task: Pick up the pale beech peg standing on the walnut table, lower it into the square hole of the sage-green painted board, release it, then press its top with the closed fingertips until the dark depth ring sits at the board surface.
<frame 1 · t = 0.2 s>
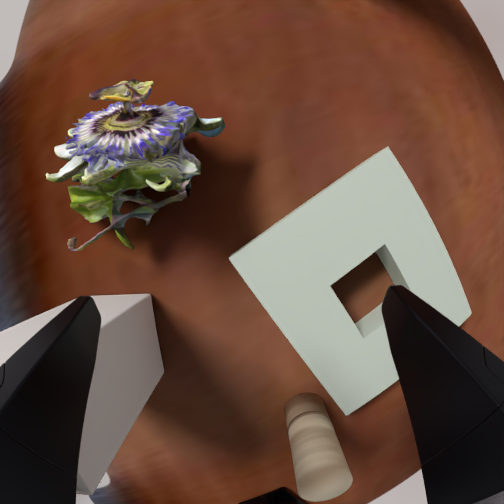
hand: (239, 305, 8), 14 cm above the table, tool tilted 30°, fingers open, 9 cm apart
peg: (304, 408, 24), on the table
board: (361, 284, 23), on the table
milk carton: (122, 333, 23), on the table
passion flower: (148, 177, 22), on the table
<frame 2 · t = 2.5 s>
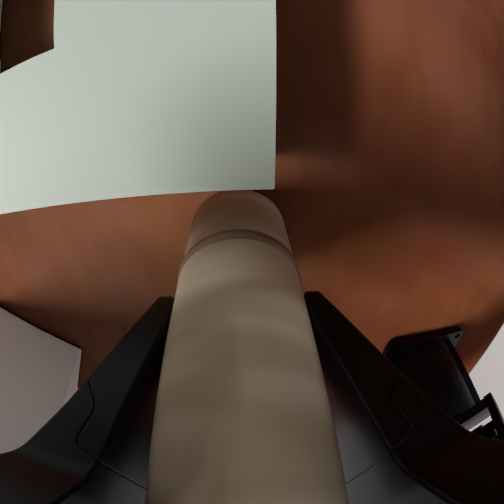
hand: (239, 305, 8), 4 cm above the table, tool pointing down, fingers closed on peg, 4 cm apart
peg: (238, 231, 12), on the table, touching gripper
board: (43, 12, 6), on the table
milk carton: (38, 348, 16), on the table
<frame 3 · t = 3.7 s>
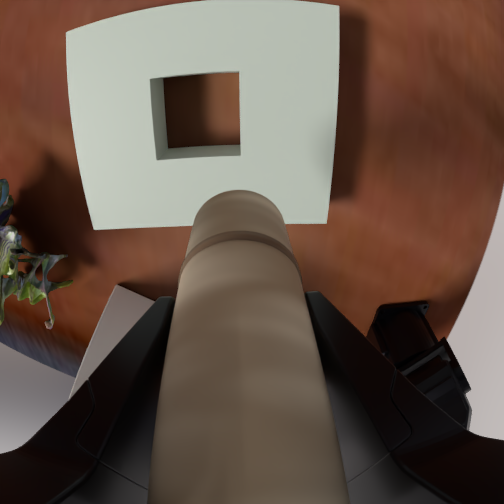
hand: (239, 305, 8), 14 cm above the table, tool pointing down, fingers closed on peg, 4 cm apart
peg: (238, 232, 12), point 10 cm above the table, touching gripper
board: (202, 110, 18), on the table
milk carton: (141, 318, 28), on the table
passion flower: (37, 235, 22), on the table
when the fingers open (5 cm above the table, at t = 5.4 s): peg drops 1 cm, resting in board.
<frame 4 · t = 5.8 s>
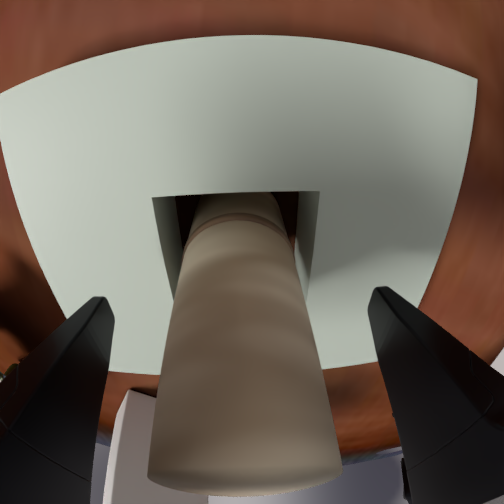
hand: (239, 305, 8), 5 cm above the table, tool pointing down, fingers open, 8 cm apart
peg: (237, 219, 12), resting in board
board: (237, 219, 12), on the table
milk carton: (159, 411, 23), on the table
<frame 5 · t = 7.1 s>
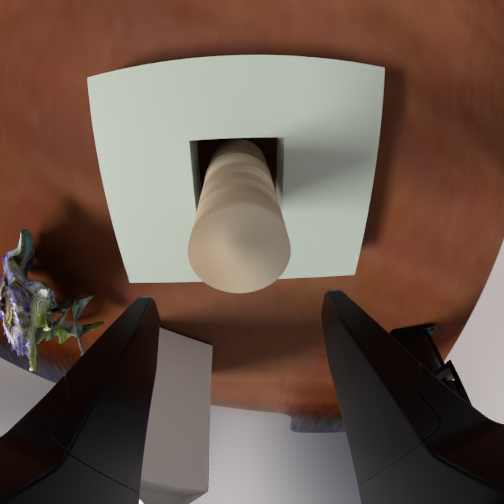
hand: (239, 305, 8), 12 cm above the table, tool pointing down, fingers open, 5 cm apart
peg: (238, 165, 19), resting in board
board: (237, 165, 19), on the table
milk carton: (169, 349, 29), on the table
passion flower: (61, 276, 23), on the table
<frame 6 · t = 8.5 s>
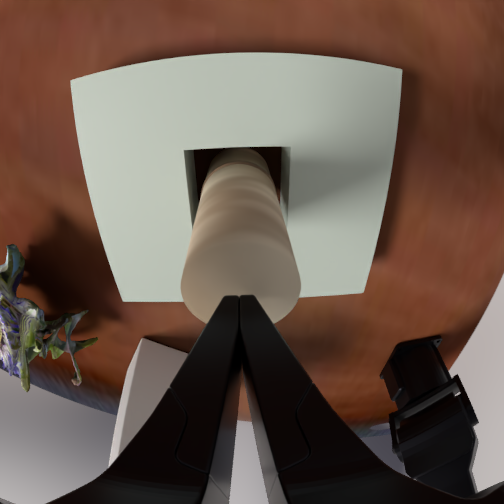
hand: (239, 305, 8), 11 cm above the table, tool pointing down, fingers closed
peg: (238, 175, 17), resting in board
board: (238, 175, 17), on the table
milk carton: (167, 364, 28), on the table
passion flower: (53, 290, 22), on the table
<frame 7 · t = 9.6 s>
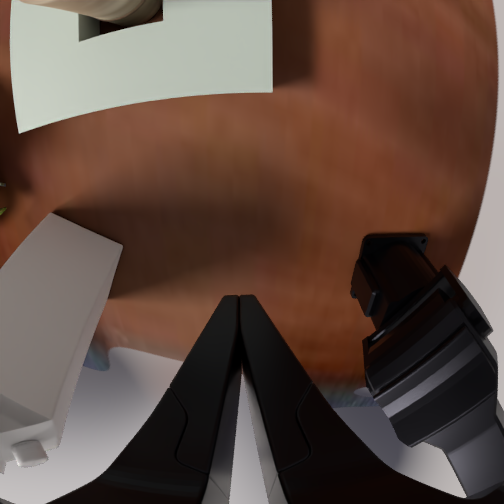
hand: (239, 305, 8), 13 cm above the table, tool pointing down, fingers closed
peg: (135, 2, 12), resting in board
board: (135, 2, 12), on the table
milk carton: (80, 257, 23), on the table
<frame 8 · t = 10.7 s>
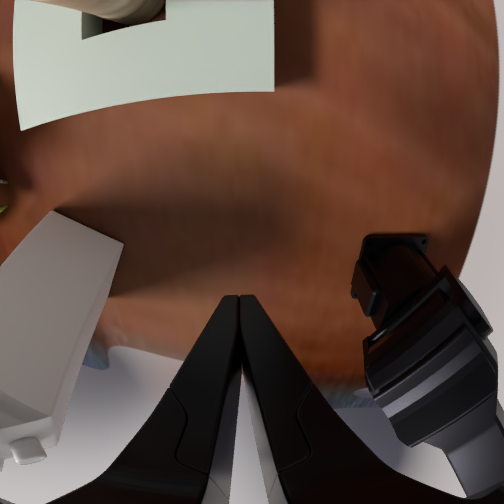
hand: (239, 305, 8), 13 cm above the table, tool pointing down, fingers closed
peg: (138, 1, 12), resting in board
board: (137, 1, 12), on the table
milk carton: (80, 255, 23), on the table
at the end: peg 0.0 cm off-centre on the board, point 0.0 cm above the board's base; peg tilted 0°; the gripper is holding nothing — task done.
